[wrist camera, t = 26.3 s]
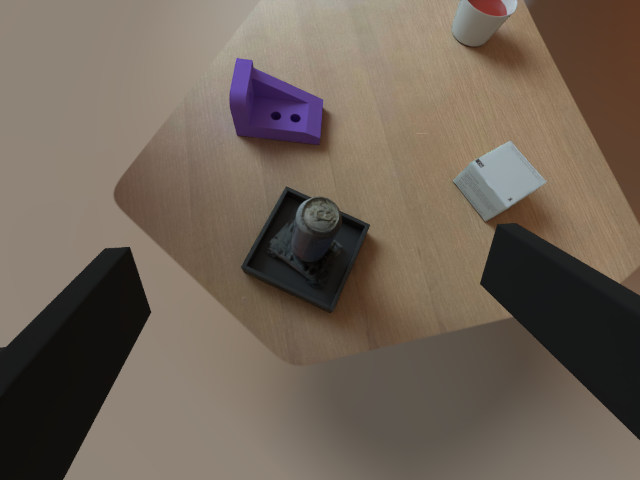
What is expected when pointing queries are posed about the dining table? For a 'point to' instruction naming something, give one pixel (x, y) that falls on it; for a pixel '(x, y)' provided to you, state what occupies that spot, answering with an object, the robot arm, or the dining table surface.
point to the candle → (480, 19)
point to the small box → (498, 180)
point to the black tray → (288, 277)
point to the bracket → (272, 107)
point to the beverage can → (310, 240)
